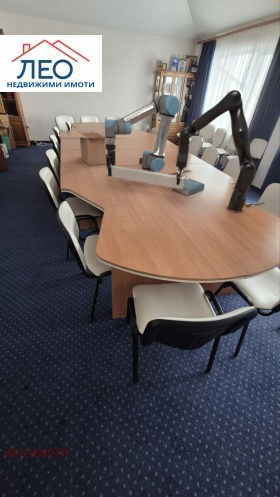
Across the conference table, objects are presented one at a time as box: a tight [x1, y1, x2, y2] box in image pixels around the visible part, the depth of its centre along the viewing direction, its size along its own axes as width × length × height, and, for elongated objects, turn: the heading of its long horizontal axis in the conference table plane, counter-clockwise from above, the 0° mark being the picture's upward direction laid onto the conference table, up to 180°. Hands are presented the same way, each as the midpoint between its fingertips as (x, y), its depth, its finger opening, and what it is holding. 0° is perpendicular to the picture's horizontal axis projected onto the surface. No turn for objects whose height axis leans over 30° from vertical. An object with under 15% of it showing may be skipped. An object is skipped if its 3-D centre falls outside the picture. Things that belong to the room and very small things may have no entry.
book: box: [171, 178, 205, 196], centre depth 185 cm, size 23×16×5 cm
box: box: [70, 129, 106, 166], centre depth 229 cm, size 44×36×27 cm
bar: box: [104, 165, 186, 189], centre depth 170 cm, size 63×5×8 cm, turn 72°
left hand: (111, 174), depth 178 cm, fingers closed on bar, 5 cm apart
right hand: (178, 183), depth 165 cm, fingers closed on bar, 5 cm apart
